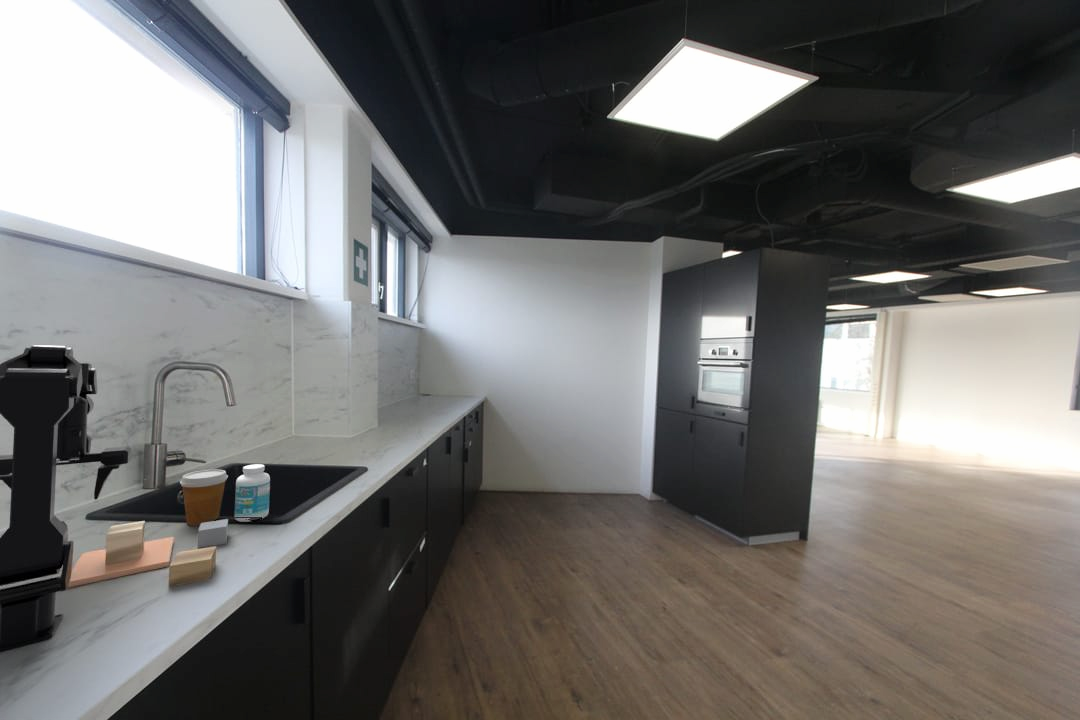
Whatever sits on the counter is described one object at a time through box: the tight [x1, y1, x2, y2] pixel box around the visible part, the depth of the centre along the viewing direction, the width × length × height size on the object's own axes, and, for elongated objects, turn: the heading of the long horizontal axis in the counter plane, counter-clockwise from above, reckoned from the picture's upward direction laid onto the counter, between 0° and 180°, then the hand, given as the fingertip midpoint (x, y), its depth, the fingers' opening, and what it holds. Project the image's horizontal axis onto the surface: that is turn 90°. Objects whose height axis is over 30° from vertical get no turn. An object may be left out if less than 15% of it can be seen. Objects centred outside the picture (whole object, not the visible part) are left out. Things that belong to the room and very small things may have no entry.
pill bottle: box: [234, 463, 271, 523], centre depth 108 cm, size 8×7×14 cm
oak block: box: [168, 545, 217, 588], centre depth 79 cm, size 6×6×4 cm
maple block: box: [105, 520, 146, 565], centre depth 83 cm, size 5×5×6 cm
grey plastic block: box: [197, 518, 229, 549], centre depth 94 cm, size 5×5×4 cm
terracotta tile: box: [67, 536, 175, 589], centre depth 83 cm, size 14×14×1 cm
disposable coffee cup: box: [179, 469, 229, 526], centre depth 105 cm, size 10×10×12 cm
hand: (62, 503), depth 82 cm, fingers open, 9 cm apart
